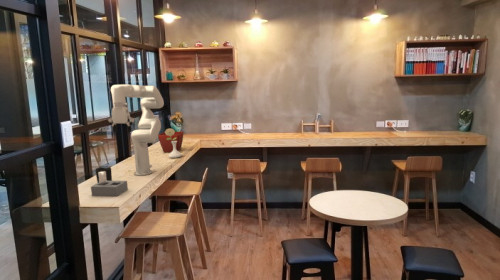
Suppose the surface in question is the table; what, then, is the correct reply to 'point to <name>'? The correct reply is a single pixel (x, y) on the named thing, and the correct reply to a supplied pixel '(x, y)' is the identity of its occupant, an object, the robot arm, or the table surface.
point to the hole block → (109, 188)
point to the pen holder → (108, 173)
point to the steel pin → (102, 178)
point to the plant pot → (167, 144)
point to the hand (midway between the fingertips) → (122, 132)
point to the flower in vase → (174, 153)
